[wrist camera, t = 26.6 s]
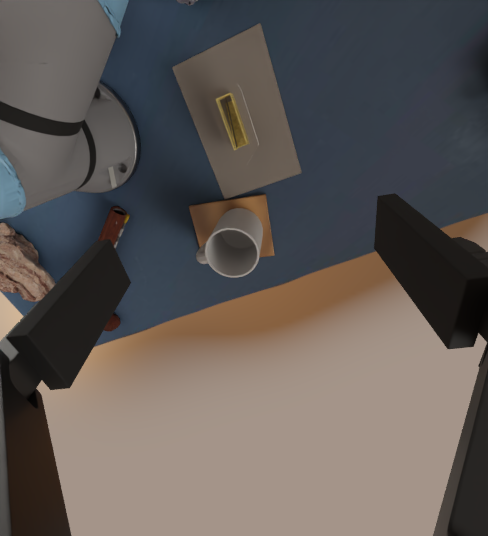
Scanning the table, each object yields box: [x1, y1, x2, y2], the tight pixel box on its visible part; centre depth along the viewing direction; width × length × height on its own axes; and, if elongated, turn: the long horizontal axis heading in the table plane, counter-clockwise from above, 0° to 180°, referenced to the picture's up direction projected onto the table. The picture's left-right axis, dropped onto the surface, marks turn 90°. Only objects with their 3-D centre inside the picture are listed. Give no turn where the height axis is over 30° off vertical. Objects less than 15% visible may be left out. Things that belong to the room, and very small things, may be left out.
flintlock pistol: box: [98, 206, 130, 331], centre depth 52 cm, size 25×4×10 cm
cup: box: [196, 208, 263, 278], centre depth 43 cm, size 7×10×9 cm
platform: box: [172, 23, 302, 199], centre depth 37 cm, size 12×18×7 cm, turn 20°
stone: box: [0, 223, 56, 302], centre depth 51 cm, size 15×8×10 cm
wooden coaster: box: [189, 194, 274, 257], centre depth 47 cm, size 12×10×1 cm
